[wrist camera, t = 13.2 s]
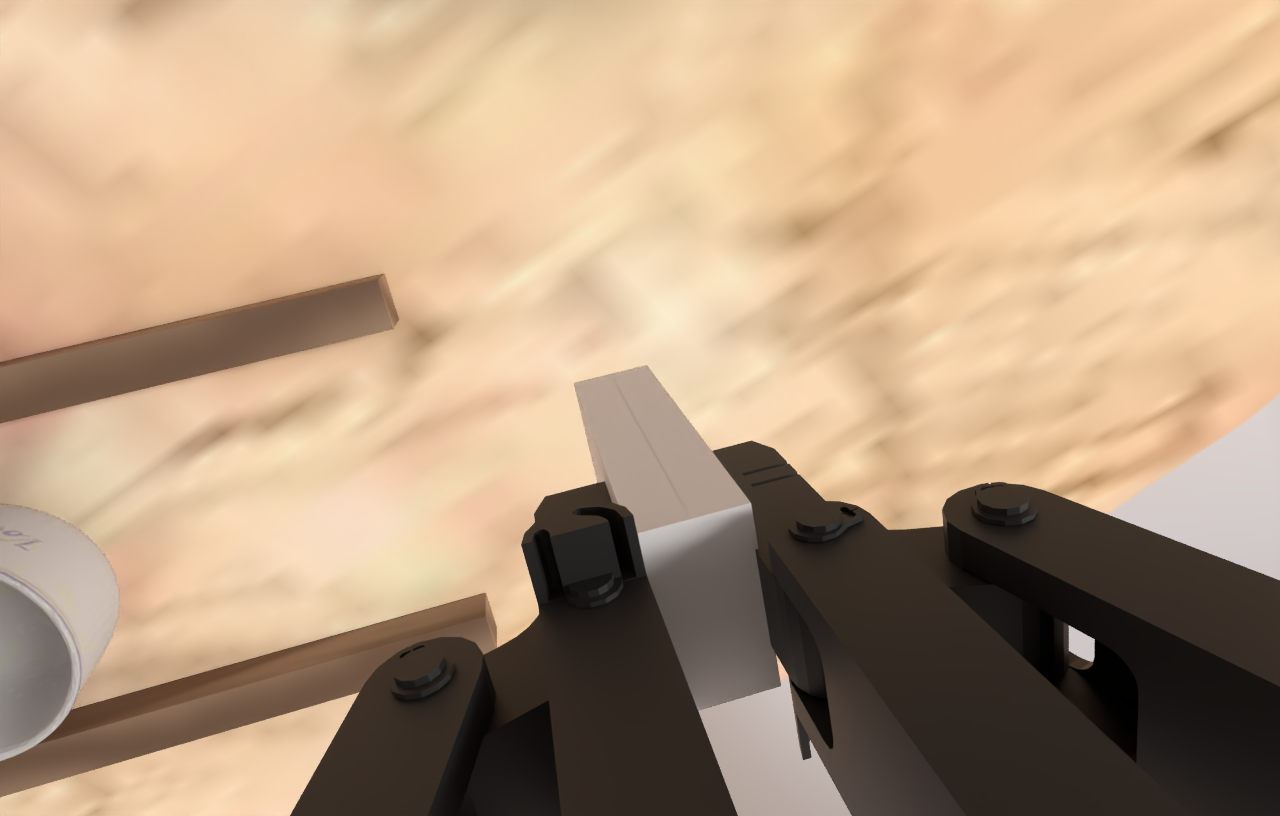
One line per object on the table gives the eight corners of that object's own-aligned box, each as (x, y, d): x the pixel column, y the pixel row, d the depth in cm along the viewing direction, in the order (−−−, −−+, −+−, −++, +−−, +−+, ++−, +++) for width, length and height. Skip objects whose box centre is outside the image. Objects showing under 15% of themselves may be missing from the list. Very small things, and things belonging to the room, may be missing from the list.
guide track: (-334, 432, 35) (-462, 473, 30) (382, 267, 38) (367, 281, 34) (-85, 799, 42) (-157, 878, 37) (498, 631, 45) (499, 684, 41)
